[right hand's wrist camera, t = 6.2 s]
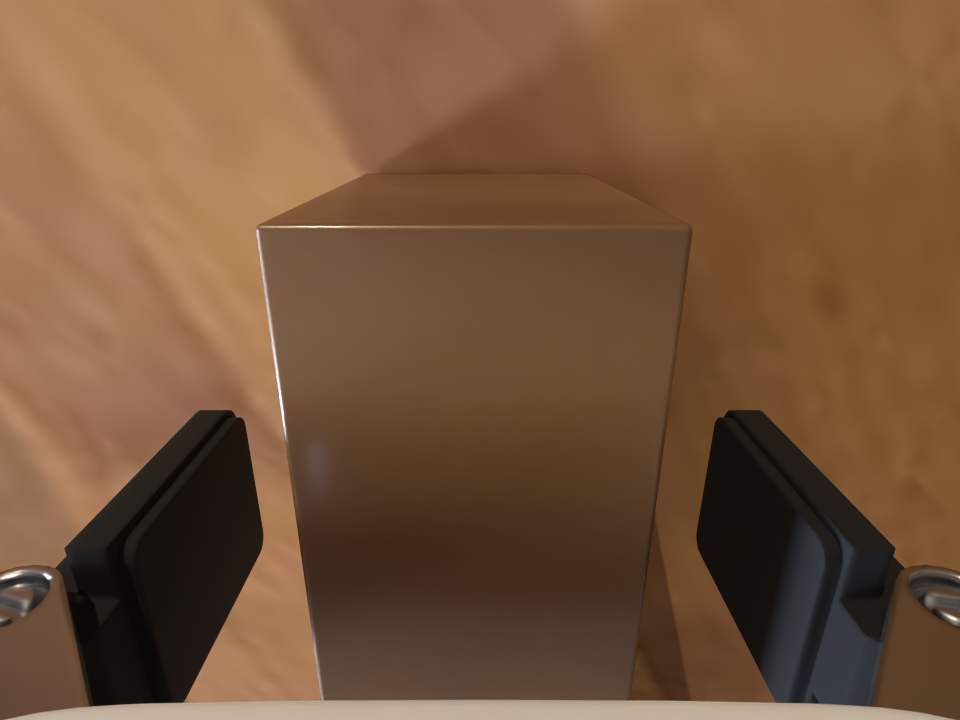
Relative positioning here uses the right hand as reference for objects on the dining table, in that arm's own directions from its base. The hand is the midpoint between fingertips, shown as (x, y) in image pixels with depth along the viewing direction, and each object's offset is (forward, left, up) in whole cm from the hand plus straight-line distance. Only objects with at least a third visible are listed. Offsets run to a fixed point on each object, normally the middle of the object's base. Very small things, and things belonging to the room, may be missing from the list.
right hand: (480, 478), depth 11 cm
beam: (-7, -20, -3) cm, 21 cm away
